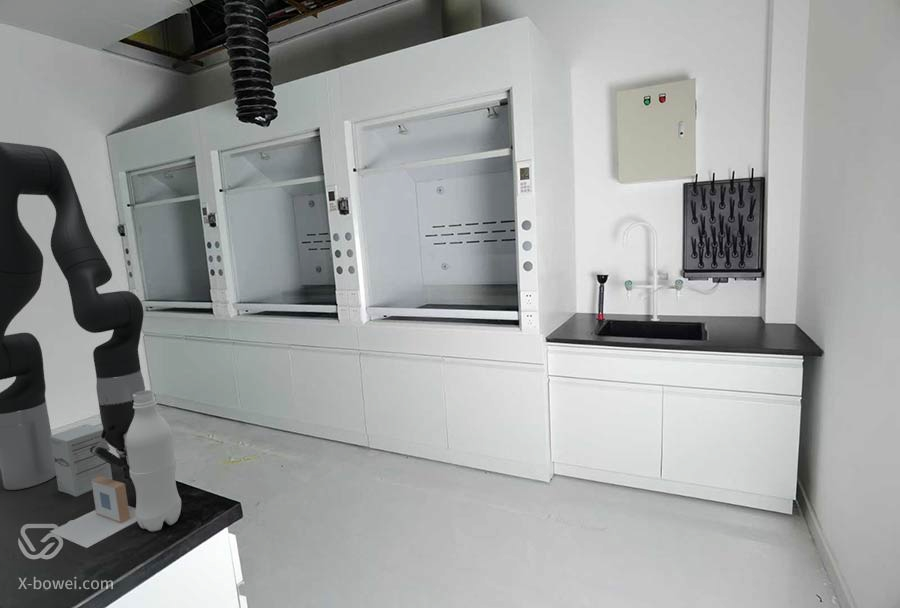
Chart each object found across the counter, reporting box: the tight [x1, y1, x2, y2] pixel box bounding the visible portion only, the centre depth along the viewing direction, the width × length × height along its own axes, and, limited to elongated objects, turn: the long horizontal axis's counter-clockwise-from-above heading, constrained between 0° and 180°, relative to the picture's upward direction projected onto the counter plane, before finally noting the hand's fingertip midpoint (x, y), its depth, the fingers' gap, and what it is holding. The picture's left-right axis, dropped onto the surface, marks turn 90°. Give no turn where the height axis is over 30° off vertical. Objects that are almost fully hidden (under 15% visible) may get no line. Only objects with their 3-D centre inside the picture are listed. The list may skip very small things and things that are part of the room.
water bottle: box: [125, 389, 182, 532], centre depth 87 cm, size 7×7×25 cm
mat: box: [49, 505, 138, 549], centre depth 89 cm, size 12×11×1 cm
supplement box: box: [50, 423, 114, 498], centre depth 103 cm, size 7×7×13 cm
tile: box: [91, 476, 130, 523], centre depth 90 cm, size 8×2×7 cm, turn 64°
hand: (134, 480), depth 94 cm, fingers closed
